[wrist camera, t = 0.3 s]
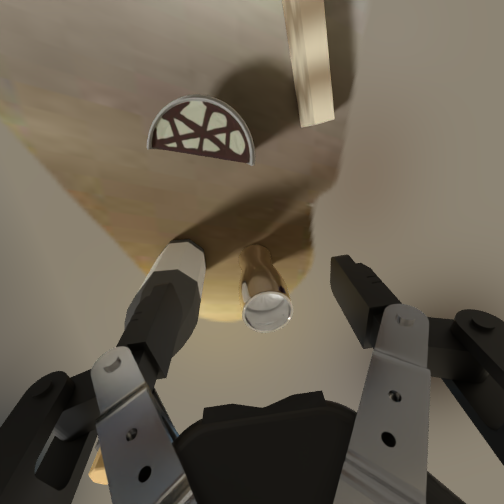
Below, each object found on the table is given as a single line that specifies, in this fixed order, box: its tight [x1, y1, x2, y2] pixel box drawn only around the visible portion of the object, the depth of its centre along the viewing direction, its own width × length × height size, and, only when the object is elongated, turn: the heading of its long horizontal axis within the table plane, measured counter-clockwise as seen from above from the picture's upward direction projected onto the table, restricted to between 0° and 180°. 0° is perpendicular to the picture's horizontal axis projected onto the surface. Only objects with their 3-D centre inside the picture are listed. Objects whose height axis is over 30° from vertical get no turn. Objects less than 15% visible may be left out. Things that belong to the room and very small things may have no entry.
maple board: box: [282, 0, 334, 127], centre depth 27 cm, size 22×2×6 cm, turn 15°
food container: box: [147, 94, 255, 166], centre depth 29 cm, size 12×6×10 cm, turn 81°
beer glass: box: [238, 245, 293, 333], centre depth 36 cm, size 7×7×15 cm
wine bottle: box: [89, 239, 206, 485], centre depth 28 cm, size 8×8×30 cm
